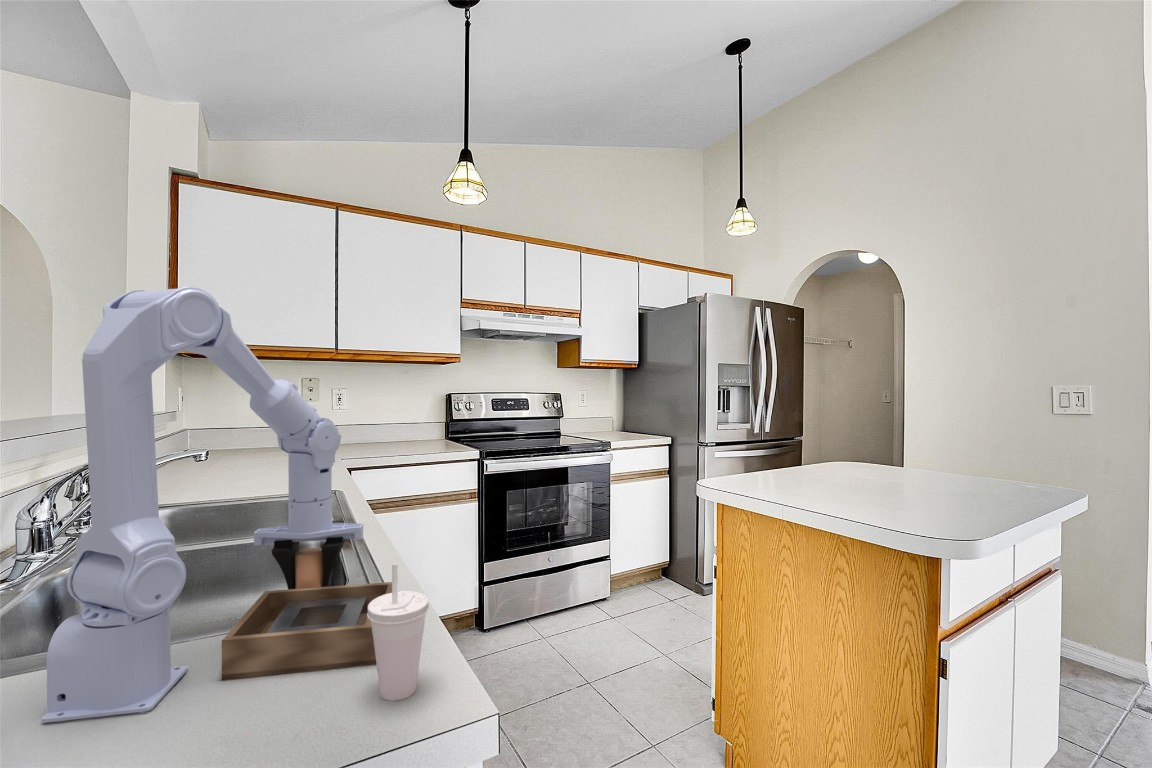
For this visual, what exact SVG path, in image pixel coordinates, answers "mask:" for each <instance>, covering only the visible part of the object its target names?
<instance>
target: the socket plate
mask: <svg viewBox="0 0 1152 768" xmlns="http://www.w3.org/2000/svg"><path fill="white" fill-rule="evenodd" d="M366 618H367V596H364V597H351V598H338V599H325V600H312V601H299V602H288V604H287V605H286V606H285V608H284V609H283V610H282V612H281V613H280V615H279V616H278V617H277V619H276V620H275V621H274V623H273V624H272V625H271V627H270V628H269V629H268V631H267V632H266V633H277V632H288V631H300V630H311V629H322V628H334V627H345V626H356V625H364V624H365V621H366Z"/></svg>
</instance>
